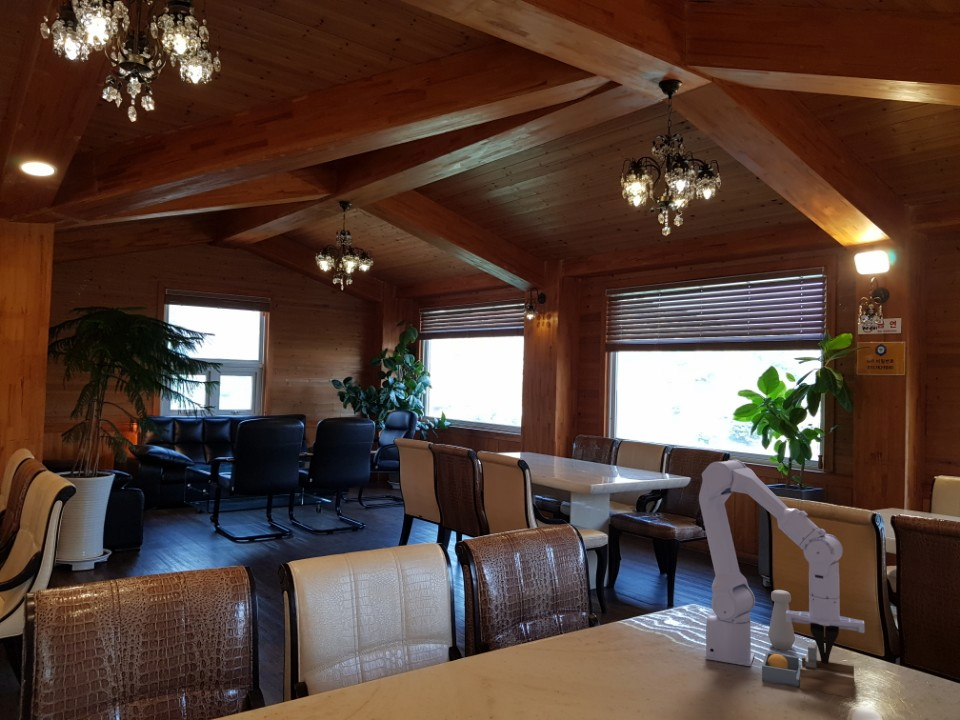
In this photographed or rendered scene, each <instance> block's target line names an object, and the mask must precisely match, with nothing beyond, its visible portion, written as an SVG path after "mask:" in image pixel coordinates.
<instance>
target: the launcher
mask: <svg viewBox="0 0 960 720" xmlns="http://www.w3.org/2000/svg"><path fill="white" fill-rule="evenodd" d="M805 660H806V656H802V657H801V667H800V684H799V689H802V690H807V691H813V692H818V693H823V692H824V693H823V694H829V695H835V696H841V697H847V698H852V699H855V698H856V697H855V696H856V695H855V665H854V664H851V663H846V662H842V661H841V662H839V661H835V660H834V661H832V660H829V664H824V663H821V658H817V670H813V669H807V668H805Z"/></svg>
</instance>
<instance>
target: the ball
mask: <svg viewBox="0 0 960 720" xmlns="http://www.w3.org/2000/svg"><path fill="white" fill-rule="evenodd" d="M780 654H781V653H774V654H773V655H771V656H770V657H769V658H768V666H770V667H776V668H782V669H788V662H787V660H786V659H785V657H783V656H782V655H783V654H781V655H780Z"/></svg>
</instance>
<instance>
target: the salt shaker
mask: <svg viewBox="0 0 960 720" xmlns="http://www.w3.org/2000/svg"><path fill="white" fill-rule="evenodd" d="M770 597H771V600H772V602H774V603H773V608H772V613H771V617H770V624H769V629H768V633H767V636H768V639H769V641H770V644H771V646H772V648H774V649H777V650H779V651H789V650H791V649H792V648H793V646H794V643H795V642H796V641H795V640H796V637H795V632H794V626H793V622H792V623H790V622H786V611H787V610H788V611H791V610H790V606H789V603H791V601H792V597H791V593H790V592H789V591H786V590H783V589H775V590H773V591H771V594H770Z"/></svg>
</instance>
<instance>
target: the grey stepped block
mask: <svg viewBox="0 0 960 720" xmlns="http://www.w3.org/2000/svg"><path fill="white" fill-rule="evenodd" d="M805 657H806V660H805V668H807V669H813V670H817V659H818V646H817V644H816V641H808V647H807V652H806V654H805Z"/></svg>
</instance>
